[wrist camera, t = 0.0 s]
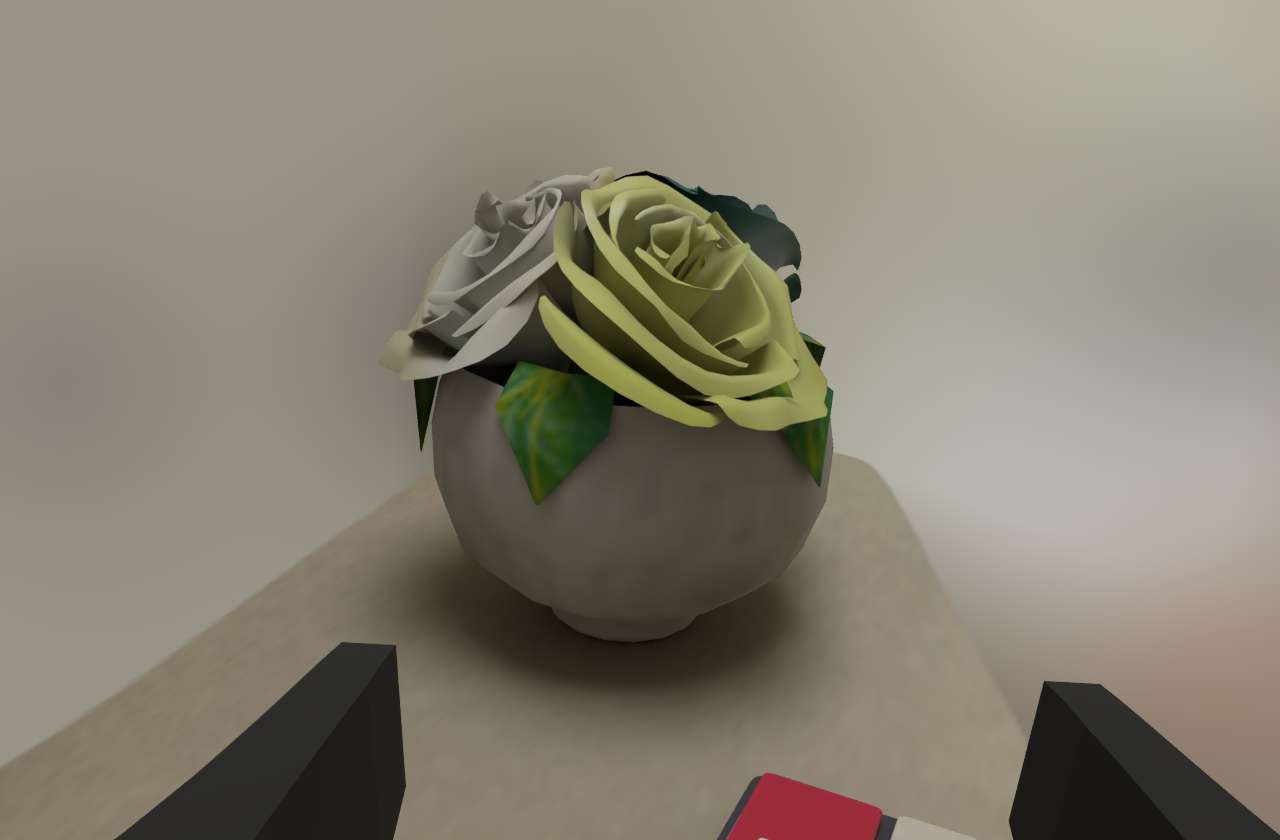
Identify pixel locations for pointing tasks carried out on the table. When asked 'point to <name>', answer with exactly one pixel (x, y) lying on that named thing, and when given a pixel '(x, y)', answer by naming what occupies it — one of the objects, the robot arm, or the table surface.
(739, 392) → the flower arrangement
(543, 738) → the table surface
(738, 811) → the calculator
